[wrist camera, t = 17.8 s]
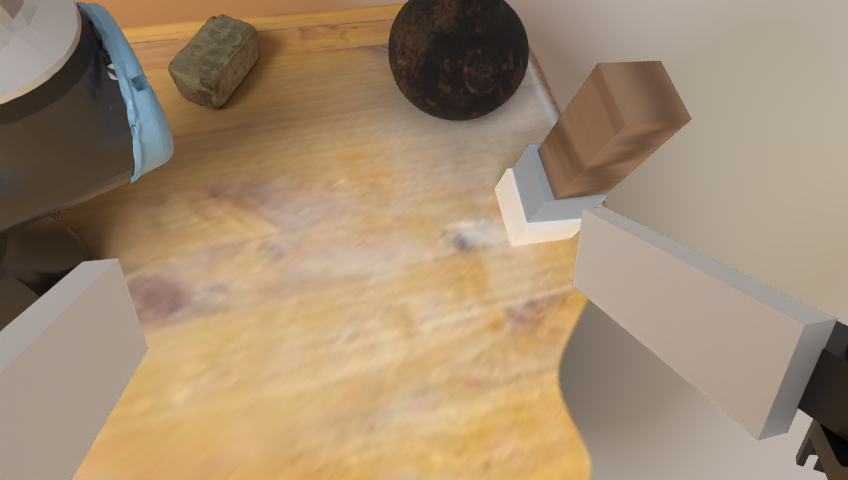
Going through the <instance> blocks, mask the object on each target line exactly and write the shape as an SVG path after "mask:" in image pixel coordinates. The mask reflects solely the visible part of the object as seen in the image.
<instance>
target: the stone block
mask: <svg viewBox="0 0 848 480" xmlns="http://www.w3.org/2000/svg"><path fill="white" fill-rule="evenodd" d="M259 55H260V54H259V42H258V37H257V33H256V31H255V28H254V27H253V26H252V25H250V24H248V23H246V22H243V21H241V20H238V19H233V18H231V17H228V16H226V15H220V16H218V17H217V18H216V17H214V16H213V17H210V18H209V20H208V21H207V22H206V24H205V25H204V26H203V27H201V29H200V30H199V31H198V33H197V34H196V35H195V36H194V37H193V38H192V40H191V41H190V42H189V43H188V44H187V45H186V46H185V47H184V48H183V49H182V50H181V51H179V52H178V53H177V54H176V56H175V58H174V59H173V60H172V61H171V62H170V64H169V66H168V71H169V73H170V75H171V77H172V78H173V79H174V82H175V84H176V85H177V88H178V90H179V92H180V93H181V95H182V96H183V97H184V98H186V99H188V100H189V101H191V102H193V103H196V104H199V105H206V106H207V107H211V108H213V109H218V108H219V107H220V106H222V105H223V104H224V103H226V101H227V99H228V98H229V97H230V96H231V95H232V93H233V92H234V90H235V89H236V88H237V86H238V85H239V84H240V83H241V82H242V81H243V79H244V78H245V76H246V75H247V74H248V72H249V70H250V69H251V68H252V67H253V66H254V64H255V63H256V61H257V59H258V57H259Z"/></svg>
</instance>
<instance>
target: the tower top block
mask: <svg viewBox="0 0 848 480" xmlns="http://www.w3.org/2000/svg"><path fill="white" fill-rule="evenodd" d="M540 146H541V144H528V146H527V148H526V149H525V151H524V152H523V154H522V155H521V157H520V158H519V160H518V161H517V163H516V164H515V166H514V168H513V169H512V170H513V174H514V178H515V181H516V185H517V188H518V192H519V196H520V199H521V203H522V207H523V210H524V214H525V217H526V221H527V223H533V222H545V221H557V220H569V219H581V218H582V211H583V209H588V208H596V207H597V206H598V205H599V204H600V203H602V202H603V201H604V200H605V199H606V198H607V195H606V194H601V195H593V196H585V197H576V198H568V199H560V200H555V199H554V196H553V193H552V191H551V188H550V185H549V182H548V180H547V177H546V174H545V171H544V168H543V166H542V163H541V160H540V157H539V154H538V152H537V150H538V149H539V147H540Z"/></svg>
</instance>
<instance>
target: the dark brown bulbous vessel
mask: <svg viewBox="0 0 848 480" xmlns="http://www.w3.org/2000/svg"><path fill="white" fill-rule="evenodd" d="M388 50H389V62H390V66H391V70H392V73H393V76H394V79H395V81H396V83H397V85H398V87H399V88H400V90H401V91H402V93H403V94H404V95H405V97H406V98H407V99H408V100H409V101H410V102H411V103H412V104H413V105H415V106H416V107H417V108H419V109H420V110H422V111H423V112H425V113H427V114H429V115H432V116H435V117H438V118H441V119H446V120H457V121H458V120H468V119H473V118H477V117H480V116H483V115H485V114H487V113H489V112H491V111H493V110H495V109H497V108H498V107H500V106H501V105H502V104H504V103H505V102H506V101H507V100H508V99H509V98H510V97H511V96H512V95H513V94H514V93H515V91H516V90H517V89H518V87H519V85H520V83H521V81H522V79H523V78H524V75H525V72H526V69H527V65H528V58H529V48H528V39H527V35H526V31H525V29H524V26H523V24H522V22H521V20H520V18H519V17H518V15H517V14H516V12H515V11H514V10H513V9H512V8H511V7H510V6H509V5H508V4H507V3H506V2H505V1H504V0H409V1H408V2H407V3H406V4H405V5H404V6H403V7H402V8H401V10H400V11H399V13H398V14H397V16H396V18H395V20H394V22H393V25H392V28H391V31H390V37H389V47H388Z"/></svg>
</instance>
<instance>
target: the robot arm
mask: <svg viewBox="0 0 848 480" xmlns="http://www.w3.org/2000/svg"><path fill="white" fill-rule="evenodd" d="M173 151H174V140H173V136H172V133H171V130H170V127H169V124H168V122H167V119H166V117H165V115H164V112H163V110H162V108H161V106H160V103H159V101H158V99H157V97H156V95H155V93H154V91H153V89H152V87H151V86H150V84H149V83H148V82H147V79H146V76H145V74H144V72H143V70H142V68H141V65H140V63H139V61H138V59H137V57H136V55H135V54H134V52H133V50H132V48H131V46H130V45H129V43H128V41H127V39H126V38H125V36H124V34H123V33H122V31H121V29H120V28H119V26H118V25H117V23H116V22H115V20H114V19H113V18H112V16H111V14H110V13H109V12H108V11H107V10H106V9H105V8H104V7H103V6H101V5H99V4H96V3H88V4H87V3H82V2H77V3H75V1H74V0H0V480H72V478H73V476H74V475H75V473H76V471H77V470H78V468H79V466H80V464H81V463H82V461H83V459H84V458H85V456H86V454H87V452H88V451H89V449H90V447H91V446H92V444H93V442H94V440H95V439H96V437H97V435H98V434H99V432H100V430H101V428H102V427H103V425H104V423H105V422H106V420H107V418H108V416H109V415H110V413H111V411H112V410H113V408H114V406H115V404H116V403H117V401H118V399H119V398H120V396H121V394H122V392H123V391H124V389H125V387H126V386H127V384H128V382H129V380H130V379H131V377H132V375H133V374H134V372H135V370H136V368H137V367H138V365H139V363H140V362H141V360H142V358H143V357H144V355H145V353H146V351H147V350H148V346H147V343H146V340H145V337H144V334H143V331H142V328H141V325H140V322H139V319H138V316H137V313H136V310H135V307H134V304H133V301H132V299H131V296H130V293H129V290H128V287H127V284H126V281H125V278H124V275H123V272H122V269H121V266H120V263H119V260H118V258H114V259H104V260H95V261H92V259H91V255H90V252H89V250H88V248H87V246H86V245H85V243H84V242H83V240H82V239H81V238H80V237H79V236H78V235H77V234H76V233H75V232H74V231H72V230H71V229H69V228H68V227H66V226H65V225H63V224H62V223H60V222H59V221H57V220H56V219H54V218H52V217H50V216H51V215H53V214H55V213H58V212H60V211H63V210H65V209H67V208H70V207H72V206H75V205H77V204H79V203H82V202H84V201H87V200H89V199H91V198H94V197H96V196H99V195H101V194H103V193H106V192H108V191H111V190H113V189H115V188H118V187H120V186H123V185H125V184H127V183H132V182H135V181H136V180H137V179H138V178H139V177H140V176H141V175H143V174H145V173H147V172H149V171H151V170H153V169H155V168H157V167H159V166H161V165H163V164H165V163H166V162H167V161H168V160H169V159H170V158H171V156H172V154H173ZM572 285H573V286H574V287H575V288H576V289H578V290H579V291H580V292H581V293H582V294H584V295H585V296H586V297H587V298H588V299H590V300H591V301H592V302H593V303H594V304H596V305H597V306H598V307H599V308H600V309H602V310H603V311H604V312H605V313H606V314H608V315H609V316H610V317H611V318H612V319H614V320H615V321H616V322H617V323H618V324H620V325H621V326H622V327H623V328H624V329H625V330H627V331H628V332H629V333H630V334H632V335H633V336H634V337H635V338H636V339H637V340H639V341H640V342H641V343H642V344H644V345H645V346H646V347H647V348H648V349H650V350H651V351H652V352H653V353H654V354H655V355H657V356H658V357H659V358H660V359H661V360H663V361H664V362H665V363H666V364H668V365H669V366H670V367H671V368H672V369H673V370H675V371H676V372H677V373H678V374H679V375H681V376H682V377H683V378H684V379H685V380H687V381H688V382H689V383H690V384H691V385H692V386H694V387H695V388H696V389H698V390H699V391H700V392H701V393H702V394H703V395H704V396H706V397H707V398H708V399H709V400H710V401H712V402H713V403H714V404H715V405H716V406H718V407H719V408H720V409H721V410H722V411H724V412H725V413H726V414H727V415H728V416H730V417H731V418H732V419H733V420H734V421H736V422H737V423H738V424H739V425H740V426H741V427H743V428H744V429H745V430H746V431H748V432H749V433H750V434H751V435H752V436H754V437H755V438H756V439H757V440H761V439H765V438H768V437H772V436H775V435H779V434H783V433H787V432H788V430H789V428H790V425H791V423H792V421H793V419H794V417H795V414H796V412H797V410H798V408H799V409H800V410H802V411H803V412H805V413H806V414H807V415H809V416H810V417H812V418H813V421H812V423H811V425H810V427H809V429H808V432H807V434H806V436H805V438H804V440H803V442H802V445H801V447H800V449H799V451H798V453H797V455H796V463H797V465H800V466H804V464H805V462H806V460H807V458H808V456H809V455H817V456H818V460H817V462H816V464H815V466H814V470H817V471H820V472H824V473H825V474H826V476H827V479H828V480H848V326H846V325H844V324H842V323H840V322H838V321H837V318H835V317H833V316H831V315H829V314H827V313H825V312H823V311H821V310H818V309H817V308H815V307H812V306H810V305H808V304H806V303H804V302H802V301H800V300H798V299H796V298H794V297H792V296H789V295H787V294H785V293H783V292H781V291H779V290H777V289H775V288H773V287H771V286H768V285H766V284H764V283H762V282H760V281H758V280H756V279H754V278H752V277H749V276H748V275H745V274H743V273H741V272H739V271H737V270H735V269H733V268H731V267H729V266H727V265H724V264H722V263H720V262H718V261H716V260H714V259H712V258H710V257H708V256H705V255H703V254H702V253H699V252H697V251H695V250H693V249H691V248H689V247H687V246H685V245H683V244H681V243H678V242H676V241H674V240H672V239H670V238H668V237H666V236H664V235H662V234H660V233H658V232H655V231H653V230H651V229H649V228H647V227H645V226H643V225H641V224H639V223H636V222H634V221H632V220H630V219H628V218H626V217H624V216H622V215H620V214H618V213H616V212H614V211H612V210H609V209H607V208H605V207H597V208H588V209H583V211H582V218H581V225H580V233H579V240H578V247H577V254H576V261H575V269H574V276H573V283H572Z"/></svg>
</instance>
